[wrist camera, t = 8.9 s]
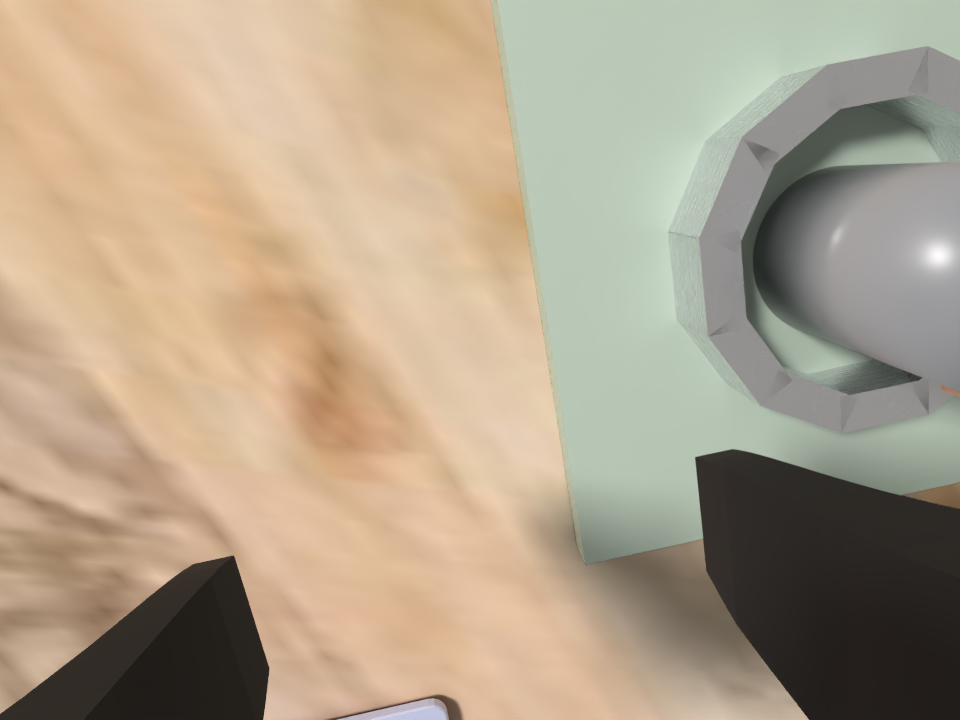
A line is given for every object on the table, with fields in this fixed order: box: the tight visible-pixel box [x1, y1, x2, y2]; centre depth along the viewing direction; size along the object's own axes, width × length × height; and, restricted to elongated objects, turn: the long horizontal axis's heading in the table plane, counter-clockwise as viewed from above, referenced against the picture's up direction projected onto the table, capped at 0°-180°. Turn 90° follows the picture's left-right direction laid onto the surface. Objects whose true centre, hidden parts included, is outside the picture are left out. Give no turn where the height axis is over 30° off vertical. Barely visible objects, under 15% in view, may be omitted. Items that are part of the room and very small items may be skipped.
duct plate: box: [491, 0, 960, 565], centre depth 19 cm, size 16×16×1 cm
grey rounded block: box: [753, 162, 960, 397], centre depth 16 cm, size 4×5×6 cm
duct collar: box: [668, 46, 960, 433], centre depth 18 cm, size 9×9×2 cm
